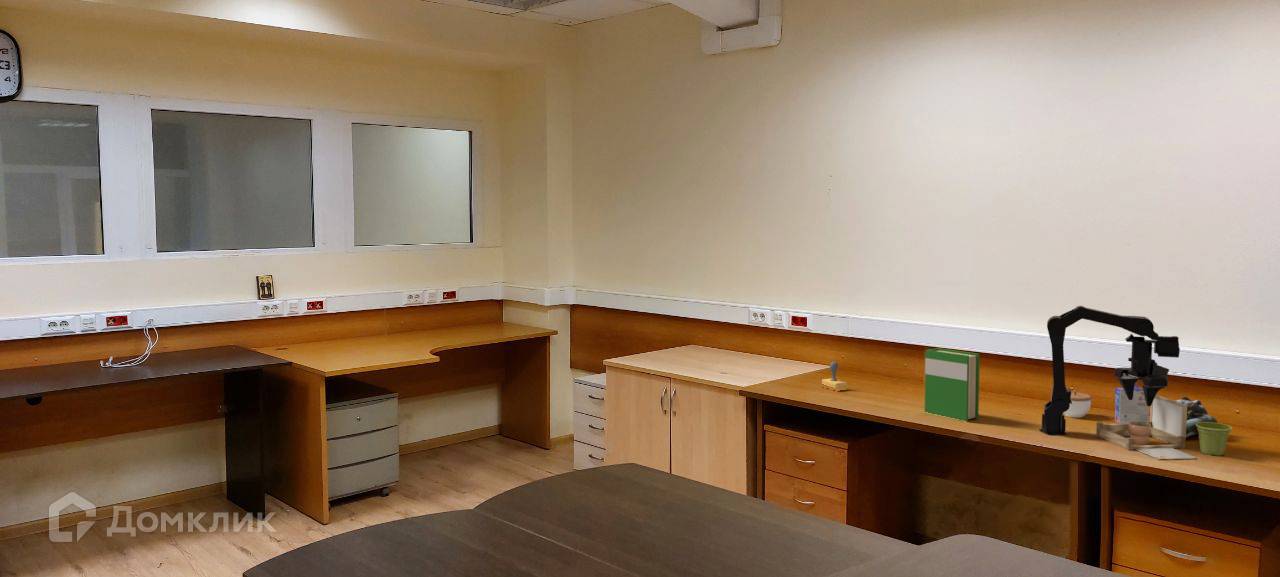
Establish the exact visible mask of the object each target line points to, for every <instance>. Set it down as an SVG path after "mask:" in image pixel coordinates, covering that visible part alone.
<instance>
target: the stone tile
mask: <svg viewBox="0 0 1280 577" xmlns="http://www.w3.org/2000/svg"><path fill="white" fill-rule="evenodd" d="M1136 450H1138V451H1140V452H1139V453H1141V452H1143V453H1145V454H1148V455H1150V456H1153V457H1159V458H1161V457H1162V456H1163V458H1167V459H1182V460H1197V459H1198V458H1197V457H1196V456H1193V455H1191V454H1188V453H1186V452H1183V451H1181V450H1180V449H1178V448H1177V449H1174V448H1152V449H1136ZM1136 450H1135V451H1136ZM1138 451H1137V452H1138ZM1143 453H1142V454H1143ZM1145 454H1144V455H1145ZM1148 455H1147V456H1148ZM1150 456H1149V457H1150ZM1160 456H1161V457H1160ZM1164 456H1165V457H1164ZM1159 458H1158V459H1159Z"/></svg>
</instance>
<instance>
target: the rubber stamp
mask: <svg viewBox="0 0 1280 577" xmlns="http://www.w3.org/2000/svg"><path fill="white" fill-rule="evenodd" d="M829 369H830V372H831V376H832V377H831V378H823V379H822V380H821V385H822V384H824V385H827V386H830V387H833V388H846V389H847V381H843V380H840V379H838V378H836V375H837V372H838V369H839V364H838V363H837V362H836V361H831V362H830V364H829Z"/></svg>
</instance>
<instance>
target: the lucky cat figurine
mask: <svg viewBox="0 0 1280 577" xmlns="http://www.w3.org/2000/svg"><path fill="white" fill-rule="evenodd" d="M1175 401H1176V402H1179V403H1183V404H1186V405H1187V423H1186V438H1189V437H1191V436H1195V435H1199V432H1198V430H1197V426H1196V423H1198V422H1214V423H1219V422H1218V420H1217V419H1216V418H1215V417H1214V416H1212V415H1211V414H1208V411H1207V409H1206V408H1205V407H1204V405H1202V401H1201V400H1199V399H1196V400H1193V401H1192V400H1191V399H1190V398H1188V397H1187V396H1184V397H1182V398H1181V399H1177V400H1175Z"/></svg>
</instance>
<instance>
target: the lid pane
mask: <svg viewBox="0 0 1280 577" xmlns="http://www.w3.org/2000/svg"><path fill="white" fill-rule="evenodd" d="M1149 421H1150V422H1152V427H1154V428H1157V429H1159V430H1162V431H1165V432H1167V433H1170V434H1172V435H1175V436H1182V437H1185V440H1186V439H1187V437H1186V423H1187V405H1186V404H1183V403H1179V402H1176V400H1173V399H1170V398H1167V397H1164V396H1161V395H1158V394H1156V396H1155V398H1154V400H1153V403H1152V405H1151V406H1149Z"/></svg>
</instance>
